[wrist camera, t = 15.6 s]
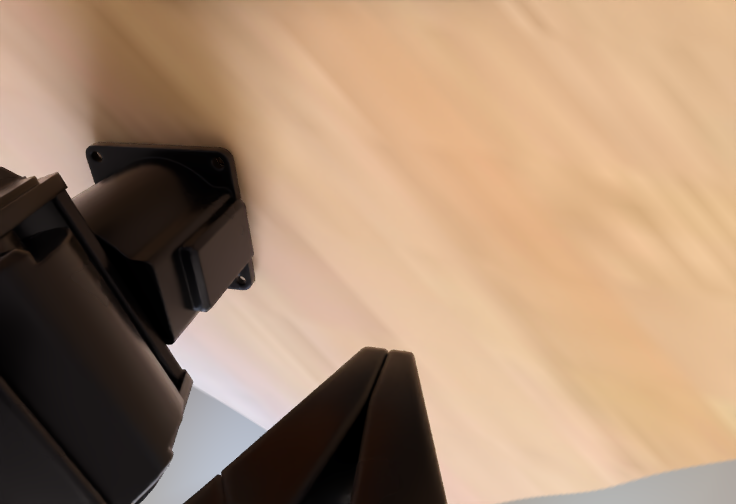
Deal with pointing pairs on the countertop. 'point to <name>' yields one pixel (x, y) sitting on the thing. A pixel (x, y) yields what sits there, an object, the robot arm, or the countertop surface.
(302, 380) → the countertop surface
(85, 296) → the robot arm
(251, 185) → the countertop surface
